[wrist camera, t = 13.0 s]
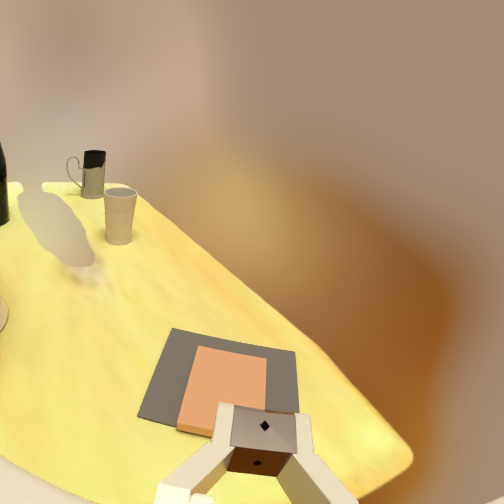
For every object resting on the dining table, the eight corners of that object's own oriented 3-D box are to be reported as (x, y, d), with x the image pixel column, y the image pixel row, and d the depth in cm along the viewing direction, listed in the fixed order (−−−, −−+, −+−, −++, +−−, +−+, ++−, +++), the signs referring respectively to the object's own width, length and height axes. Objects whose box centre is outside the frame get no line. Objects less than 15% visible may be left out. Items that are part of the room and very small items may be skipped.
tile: (263, 438, 32) (266, 358, 44) (176, 422, 31) (198, 345, 44) (260, 445, 32) (263, 366, 45) (176, 429, 32) (197, 353, 45)
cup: (140, 240, 75) (144, 193, 70) (117, 250, 68) (119, 199, 63) (119, 230, 77) (121, 185, 72) (96, 238, 71) (97, 191, 66)
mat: (300, 446, 33) (301, 445, 33) (137, 416, 33) (137, 415, 32) (294, 353, 50) (294, 351, 49) (172, 329, 49) (172, 327, 49)
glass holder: (107, 198, 98) (110, 154, 91) (67, 201, 88) (68, 155, 82) (101, 190, 103) (104, 149, 97) (64, 193, 94) (65, 151, 88)
